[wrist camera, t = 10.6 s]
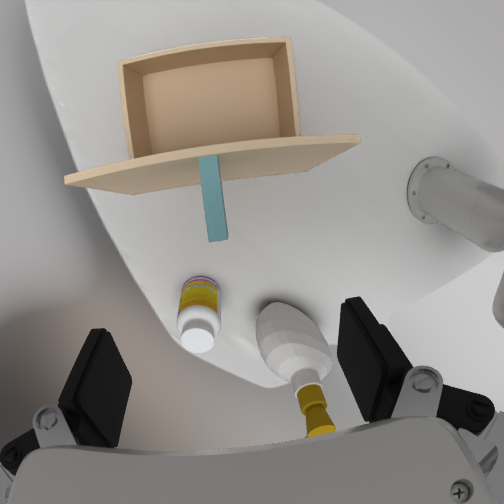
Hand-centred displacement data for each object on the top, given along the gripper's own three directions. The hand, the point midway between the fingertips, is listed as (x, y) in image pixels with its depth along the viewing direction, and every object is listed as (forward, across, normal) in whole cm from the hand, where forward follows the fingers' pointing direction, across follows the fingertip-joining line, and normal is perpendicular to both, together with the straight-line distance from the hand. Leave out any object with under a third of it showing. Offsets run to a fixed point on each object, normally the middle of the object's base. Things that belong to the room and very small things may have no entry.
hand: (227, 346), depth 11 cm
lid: (+18, 0, -4) cm, 19 cm away
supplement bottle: (+36, +6, +19) cm, 41 cm away
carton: (+36, 0, -10) cm, 37 cm away
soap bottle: (+36, -8, +27) cm, 46 cm away
